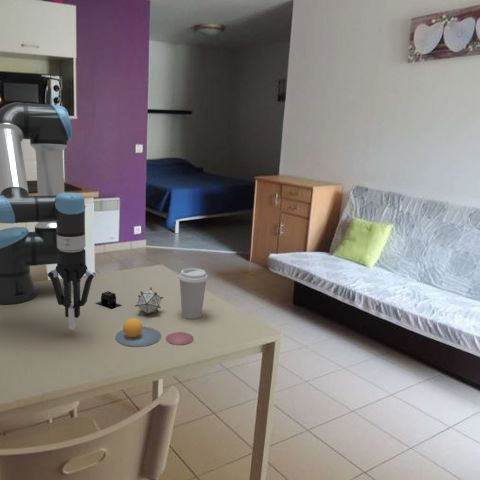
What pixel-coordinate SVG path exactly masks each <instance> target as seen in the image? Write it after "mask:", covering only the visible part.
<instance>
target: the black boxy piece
mask: <svg viewBox="0 0 480 480" xmlns="http://www.w3.org/2000/svg"><path fill="white" fill-rule="evenodd" d="M116 295H117V293H115V292H112V291H105V292H102V293H101V295H100V301H98V302H95V305H99V306H101V307H103V308H107V309H110V310H114V309H116V308H119V307H121V306H123V304H119V303H118V302H117V296H116Z"/></svg>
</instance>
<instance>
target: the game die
mask: <svg viewBox="0 0 480 480" xmlns="http://www.w3.org/2000/svg"><path fill="white" fill-rule="evenodd" d="M149 288H150V289H149V290H146V291H139V292H140V295H139V294H138V295H137V297H138V301H137V304H136V305H134V307H138V308H139V309H140V310H141V311H142V312H144V313H146V317H148V316H149V314H151V313H154V312H156V313H157V312H159V309H161V306H160V305H161V300H162V299H164V297H163V296H160V295H159V294H157V291H156V292H155V291H153V290H152V286H151V287H149Z"/></svg>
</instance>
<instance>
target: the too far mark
mask: <svg viewBox="0 0 480 480" xmlns="http://www.w3.org/2000/svg"><path fill="white" fill-rule="evenodd" d="M165 341H166V342H167V343H169V344H170V345H171V344H172V345H175V346H185V345H188V344H189V345H190V343H192V342H193V341H194V336H193V335H192V334H190V333H187V332H184V331H183V332H179V331H178V332H176V331H175V332H172V333H169V334H168V335H166V336H165Z"/></svg>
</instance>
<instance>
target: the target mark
mask: <svg viewBox="0 0 480 480" xmlns="http://www.w3.org/2000/svg"><path fill="white" fill-rule="evenodd" d="M161 339H162V334H161V332H160V331H158V329H155V328H151V327H147V326H143V329H142V332H141V334H140V335H139V336H137V337H134V338H131V337H128V336H126V335H125V333H124V331H123V329H122V330H120V331H119V332H117V333H116V335H115V340H116V342H117V343H119V344H120V345H123V346H126V347H132V348H140V347H141V348H143V347H148V346H152V345H154V344H156V343H158V342H159V341H160V340H161Z"/></svg>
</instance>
